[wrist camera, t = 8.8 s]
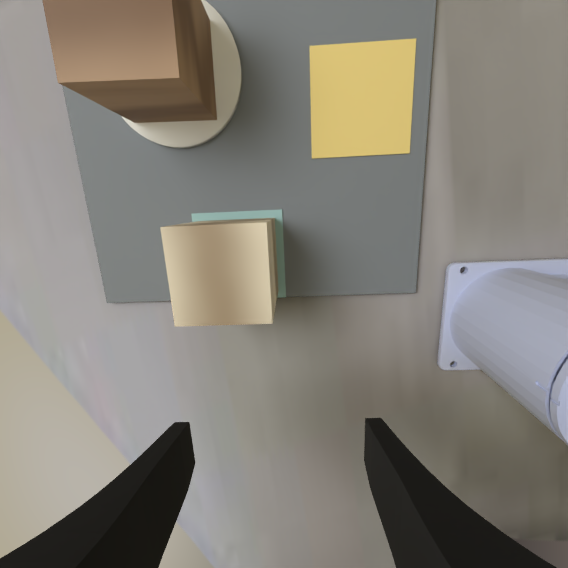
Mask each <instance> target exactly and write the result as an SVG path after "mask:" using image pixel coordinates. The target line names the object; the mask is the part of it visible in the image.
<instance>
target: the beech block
mask: <svg viewBox="0 0 568 568" xmlns="http://www.w3.org/2000/svg"><path fill="white" fill-rule="evenodd" d="M160 229H161V236H162V243H163V249H164V256H165V263H166V270H167V276H168V283H169V290H170V297H171V304H172V310H173V317H174V324H175V326H208V325H242V324H272V323H273V318H274V313H275V307H276V302H277V296H278V291H279V290H278V271H277V251H276V232H275V218H255V219H233V220H210V221H196V222H190V223H183V224H177V225H171V226H164V227H160Z"/></svg>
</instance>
